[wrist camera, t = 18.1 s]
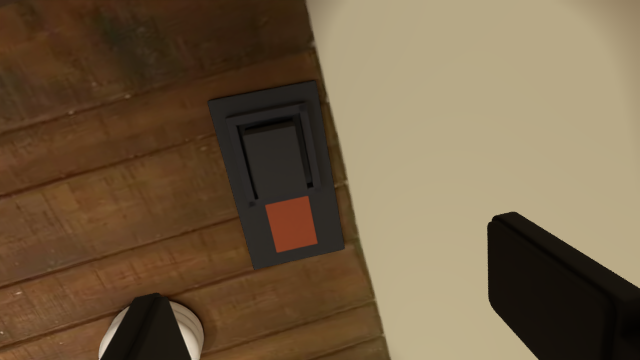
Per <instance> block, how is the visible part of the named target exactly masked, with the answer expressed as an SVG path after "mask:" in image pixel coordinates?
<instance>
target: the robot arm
mask: <svg viewBox="0 0 640 360" xmlns="http://www.w3.org/2000/svg"><path fill="white" fill-rule="evenodd" d="M487 232H488V233H487V236H488V297H489V302H490V304H491V306H492V308H493V309H494V310H495V312H496V313H497V314H498V315H499V316H500V317H501V318H502V319H503V321H504V322H505V323H506V324H507V325H508V326H509V327H510V328H511V329H512V330H513V332H514V333H515V334H516V335H517V336H518V337H519V338H520V339H521V340H522V342H523V343H524V344H525V345H526V346H527V347H528V348H529V349H530V351H531V352H532V353H533V354H534V355H535V356H536V357H537V358H538V359H539V360H640V288H638V287H637V286H635V285H633V284H632V283H630V282H628V281H627V280H625V279H624V278H622V277H620V276H619V275H617V274H615V273H614V272H612V271H611V270H609V269H607V268H606V267H604V266H602V265H601V264H599V263H598V262H596V261H594V260H593V259H591V258H590V257H588V256H586V255H585V254H583V253H581V252H580V251H578V250H577V249H575V248H573V247H572V246H570V245H568V244H567V243H565V242H564V241H562V240H560V239H559V238H557V237H556V236H554V235H552V234H551V233H549V232H548V231H546V230H544V229H543V228H541V227H539V226H538V225H536V224H535V223H533V222H531V221H529V220H528V219H526V218H525V217H523V216H522V215H520V214H518V213H517V212H509V213H504V214H500V215H496V216H494V217H493V218H492V222H489V223H488V226H487ZM100 360H192V359H191V356H190V354H189V351H188V348H187V346H186V343H185V341H184V338H183V336H182V333H181V330H180V328H179V325H178V323H177V320H176V318H175V315H174V312H173V310H172V307H171V305H170V302H169V300H168V298H167V297H165V296H164V297H161V295H160V294H159V293H153V294H149V295H145V296H140V297H136V298H135V299H134V300H133V301H132V303H131V305H130V307H129V308H128V310H127V312H126V314H125V315H124V317H123V319H122V321H121V323H120V324H119V326H118V328H117V330H116V332H115V333H114V335H113V337H112V339H111V341H110V342H109V344H108V346H107V348H106V350H105V351H104V353H103V355H102V357H101V359H100Z"/></svg>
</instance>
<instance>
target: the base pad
mask: <svg viewBox="0 0 640 360" xmlns="http://www.w3.org/2000/svg"><path fill="white" fill-rule="evenodd" d="M208 106H209V109H210V113H211V117H212V120H213V124H214V127H215V131H216V135H217V138H218V142H219V145H220V149H221V153H222V156H223V160H224V163H225V167H226V171H227V174H228V178H229V181H230V185H231V189H232V192H233V196H234V199H235V203H236V207H237V210H238V214H239V217H240V221H241V224H242V228H243V232H244V235H245V239H246V242H247V246H248V250H249V253H250V257H251V260H252V264H253V268H254V270H255V269H260V268H264V267H268V266H273V265H277V264H282V263H286V262H290V261H295V260H299V259H304V258H308V257H312V256H317V255H321V254H325V253H330V252H334V251H339V250H343V249H345V247H344V241H343V235H342V229H341V224H340V218H339V212H338V206H337V200H336V195H335V189H334V183H333V177H332V171H331V166H330V160H329V154H328V148H327V142H326V137H325V131H324V125H323V119H322V113H321V107H320V102H319V96H318V90H317V84H316V81H315V80H312V81H307V82H302V83H297V84H292V85H286V86H281V87H276V88H271V89H266V90H260V91H255V92H250V93H245V94H239V95H234V96H229V97H224V98H219V99H213V100H209V101H208ZM290 119H292V120H293V122H294V125H295V128H296V133H297V138H298V143H299V148H300V153H301V158H302V163H303V168H304V173H305V178H306V183H307V188H308V190H304V191H300V192H295V193H290V194H286V195H281V196H276V197H272V198H267V199H262V200H259V199H258V195H257V191H256V187H255V183H254V179H253V175H252V171H251V167H250V163H249V159H248V155H247V151H246V148H245V144H244V140H243V134H244V131H245V128H250V127H255V126H260V125H265V124H270V123H275V122H280V121H285V120H290Z"/></svg>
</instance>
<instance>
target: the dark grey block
mask: <svg viewBox="0 0 640 360" xmlns="http://www.w3.org/2000/svg"><path fill="white" fill-rule="evenodd" d="M243 140H244V144H245V148H246V151H247V155H248V159H249V163H250V167H251V171H252V175H253V179H254V183H255V187H256V191H257V195H258V199H259V200H262V199H267V198H272V197H276V196H281V195H286V194H290V193H295V192H300V191H304V190H308V188H307V183H306V178H305V173H304V168H303V163H302V158H301V153H300V148H299V143H298V138H297V133H296V128H295V125H294V122H293V120H292V119H290V120H285V121H280V122H275V123H270V124H265V125H260V126H255V127H250V128H245V131H244V134H243Z"/></svg>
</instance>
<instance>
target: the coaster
mask: <svg viewBox="0 0 640 360" xmlns="http://www.w3.org/2000/svg"><path fill="white" fill-rule="evenodd" d="M169 302H170V305H171V307H172V310H173V312H174V315H175V318H176V320H177V323H178V325H179V328H180V330H181V333H182V336H183V338H184V341H185V343H186V346H187V348H188V351H189V354H190V356H191V359H192V360H200V354H201V351H202V346H203V341H204V334H203V328H202V325H201V323H200V321H199V319H198V318H197V317H196V316H195V314H194V313H192V312H191V311H190V310H189V309H187V308H186V307H184V306H182V305H180V304H178V303H175V302H172V301H169ZM129 307H130V306H129ZM129 307H127V308H126V309H124V310H123V311H122V312H121V313H119V314H118V315H117V317H116V318H115V319H114V321H113V322H112V324H111V326H110V327H109V329H108V331H107V333H106V334H105V336H104V337H103V339H102V342H101V344H100V348H99V360H100V359H101V357H102V355H103V353H104V351H105V350H106V348H107V346H108V344H109V342H110V341H111V339H112V337H113V335H114V333H115V332H116V330H117V328H118V326H119V324H120V323H121V321H122V319H123V317H124V315H125V314H126V312H127V310H128V308H129Z"/></svg>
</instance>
